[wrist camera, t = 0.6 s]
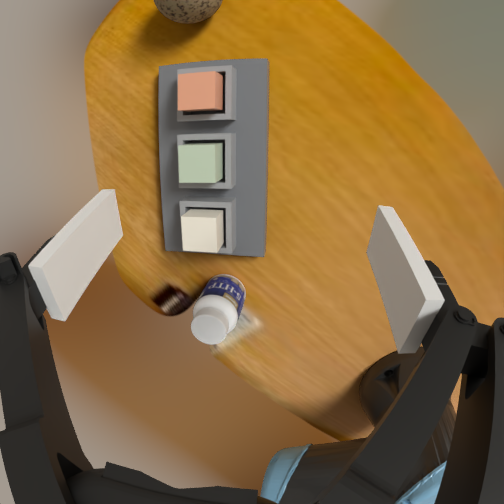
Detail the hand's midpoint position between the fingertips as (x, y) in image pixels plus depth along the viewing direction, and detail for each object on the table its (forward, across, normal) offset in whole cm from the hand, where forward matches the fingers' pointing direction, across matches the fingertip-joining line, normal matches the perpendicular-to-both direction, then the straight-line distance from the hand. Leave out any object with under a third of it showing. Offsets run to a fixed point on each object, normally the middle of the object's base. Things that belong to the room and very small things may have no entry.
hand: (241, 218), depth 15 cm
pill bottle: (+18, +4, +20) cm, 27 cm away
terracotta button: (+19, +6, -4) cm, 20 cm away
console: (+21, +5, +4) cm, 22 cm away
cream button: (+16, +5, +10) cm, 19 cm away
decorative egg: (+26, +8, -14) cm, 30 cm away
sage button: (+17, +6, +3) cm, 18 cm away
